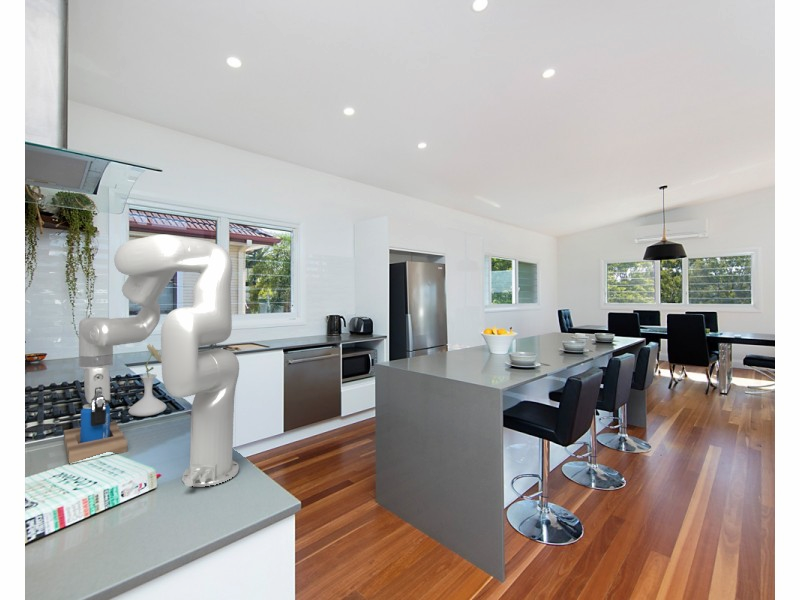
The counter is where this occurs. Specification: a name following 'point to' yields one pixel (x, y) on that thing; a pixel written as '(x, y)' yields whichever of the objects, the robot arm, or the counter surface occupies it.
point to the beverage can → (90, 431)
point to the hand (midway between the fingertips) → (95, 420)
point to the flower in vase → (148, 392)
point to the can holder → (93, 444)
